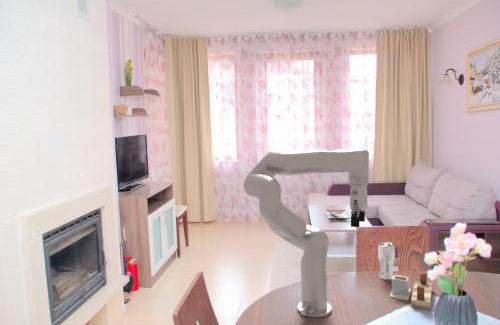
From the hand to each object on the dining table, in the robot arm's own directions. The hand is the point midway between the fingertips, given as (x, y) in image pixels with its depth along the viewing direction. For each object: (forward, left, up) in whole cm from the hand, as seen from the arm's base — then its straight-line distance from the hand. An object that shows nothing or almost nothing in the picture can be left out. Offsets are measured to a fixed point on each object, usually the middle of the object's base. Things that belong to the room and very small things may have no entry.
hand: (357, 223), depth 153 cm
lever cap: (+8, -15, -29) cm, 33 cm away
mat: (+8, -15, -30) cm, 34 cm away
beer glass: (+23, -7, -30) cm, 38 cm away
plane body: (+7, -23, -30) cm, 38 cm away
